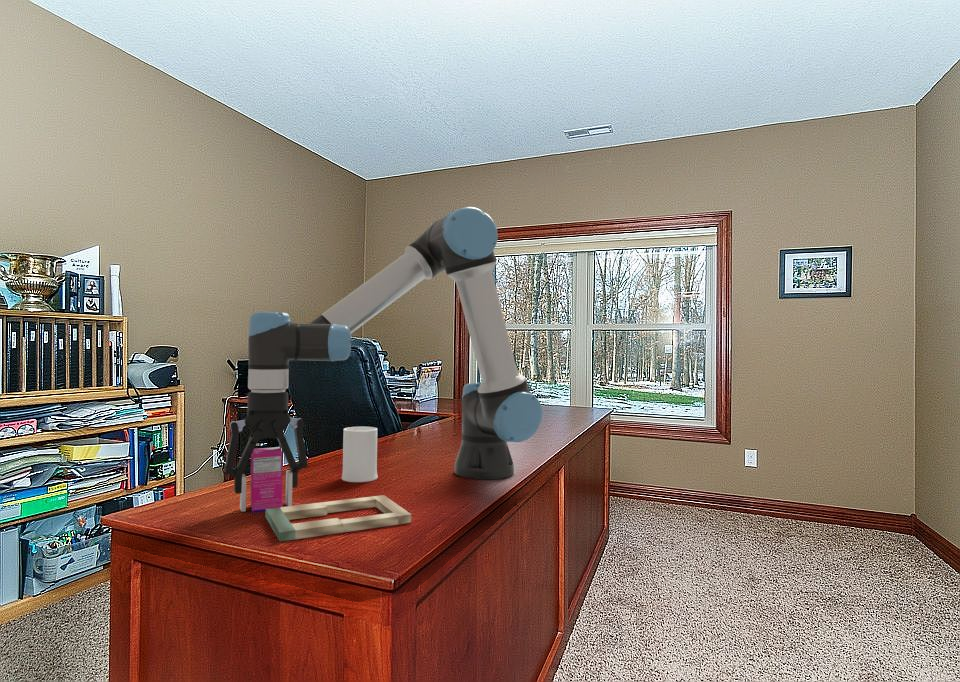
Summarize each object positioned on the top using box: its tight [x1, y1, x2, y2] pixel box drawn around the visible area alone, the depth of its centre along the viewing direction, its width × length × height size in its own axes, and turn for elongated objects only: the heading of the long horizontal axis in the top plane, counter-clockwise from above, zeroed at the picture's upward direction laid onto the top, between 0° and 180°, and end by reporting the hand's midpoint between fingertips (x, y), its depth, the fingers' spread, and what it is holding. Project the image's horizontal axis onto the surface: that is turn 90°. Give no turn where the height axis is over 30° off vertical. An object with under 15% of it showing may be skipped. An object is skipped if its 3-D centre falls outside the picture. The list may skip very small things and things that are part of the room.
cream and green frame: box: [265, 494, 412, 542], centre depth 106 cm, size 23×15×2 cm, turn 119°
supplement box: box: [250, 446, 284, 514], centre depth 113 cm, size 6×6×12 cm
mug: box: [341, 426, 379, 483], centre depth 141 cm, size 12×8×12 cm
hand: (266, 506), depth 113 cm, fingers open, 8 cm apart
